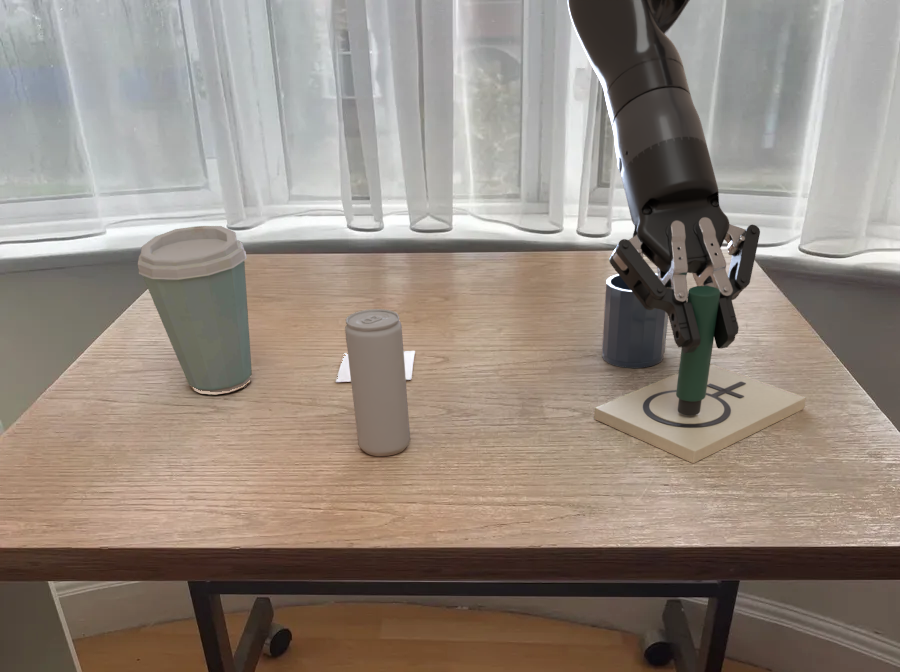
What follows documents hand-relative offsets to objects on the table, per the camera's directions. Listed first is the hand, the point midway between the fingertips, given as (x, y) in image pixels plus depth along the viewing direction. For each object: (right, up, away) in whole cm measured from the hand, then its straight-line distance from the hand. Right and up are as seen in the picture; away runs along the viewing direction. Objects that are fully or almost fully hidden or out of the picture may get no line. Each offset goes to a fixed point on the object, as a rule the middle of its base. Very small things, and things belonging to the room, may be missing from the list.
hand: (709, 345), depth 76 cm
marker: (0, -4, +6) cm, 7 cm away
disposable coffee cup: (-47, +1, +20) cm, 51 cm away
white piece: (-30, +4, +21) cm, 37 cm away
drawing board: (+2, -4, +9) cm, 10 cm away
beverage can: (-28, -8, +6) cm, 30 cm away
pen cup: (-2, +5, +21) cm, 21 cm away
